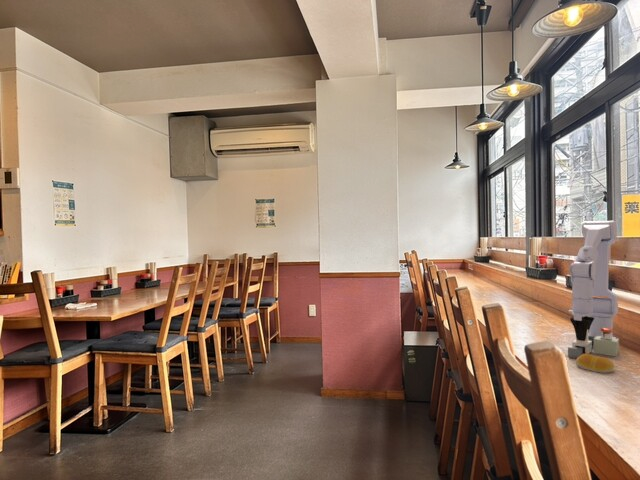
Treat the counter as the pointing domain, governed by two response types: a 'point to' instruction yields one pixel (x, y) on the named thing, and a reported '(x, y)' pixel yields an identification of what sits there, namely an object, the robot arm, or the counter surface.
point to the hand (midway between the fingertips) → (582, 339)
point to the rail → (579, 349)
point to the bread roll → (595, 363)
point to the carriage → (583, 344)
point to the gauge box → (606, 346)
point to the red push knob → (606, 333)
